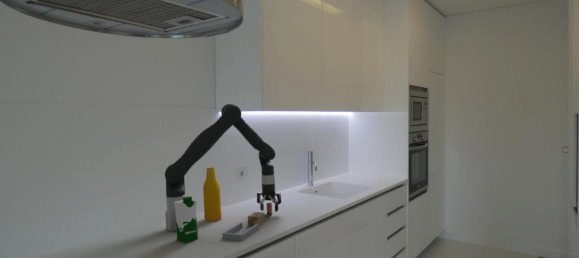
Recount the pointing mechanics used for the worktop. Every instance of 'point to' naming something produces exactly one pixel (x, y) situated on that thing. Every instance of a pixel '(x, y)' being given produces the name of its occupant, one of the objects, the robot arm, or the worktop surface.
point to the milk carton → (186, 219)
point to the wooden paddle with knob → (259, 216)
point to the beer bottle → (211, 197)
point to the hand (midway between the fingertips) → (269, 211)
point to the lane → (230, 234)
